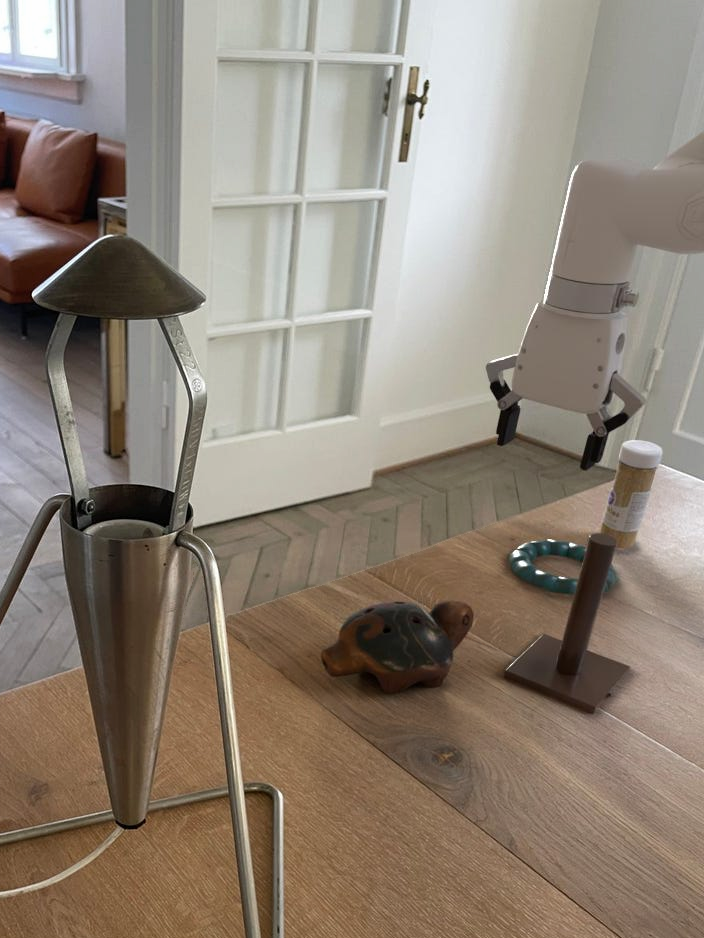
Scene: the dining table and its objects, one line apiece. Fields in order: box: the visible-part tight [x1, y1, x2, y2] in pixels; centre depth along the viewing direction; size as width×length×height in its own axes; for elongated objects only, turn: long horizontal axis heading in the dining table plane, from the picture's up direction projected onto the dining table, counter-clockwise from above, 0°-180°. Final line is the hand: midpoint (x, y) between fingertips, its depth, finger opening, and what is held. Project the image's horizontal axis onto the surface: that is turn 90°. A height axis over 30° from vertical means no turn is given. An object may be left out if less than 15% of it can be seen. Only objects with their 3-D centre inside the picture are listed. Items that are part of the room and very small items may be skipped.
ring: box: [508, 539, 618, 596], centre depth 112 cm, size 12×12×2 cm
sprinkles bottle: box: [599, 439, 664, 549], centre depth 116 cm, size 5×5×13 cm
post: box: [503, 532, 631, 715], centre depth 91 cm, size 9×9×16 cm
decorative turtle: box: [320, 599, 474, 694], centre depth 92 cm, size 10×15×8 cm, turn 112°
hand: (545, 454), depth 107 cm, fingers open, 9 cm apart
